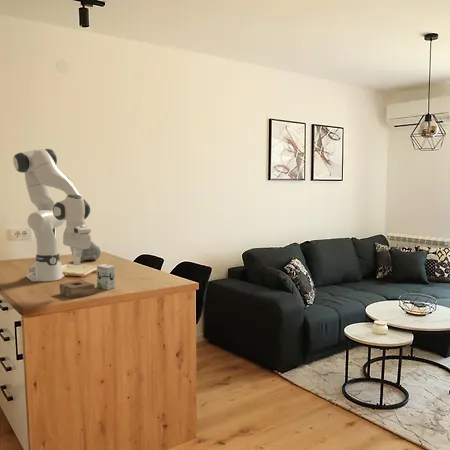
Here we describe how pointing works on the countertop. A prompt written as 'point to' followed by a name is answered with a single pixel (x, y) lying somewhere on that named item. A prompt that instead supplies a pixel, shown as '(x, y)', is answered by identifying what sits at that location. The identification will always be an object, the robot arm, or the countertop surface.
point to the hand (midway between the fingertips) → (76, 256)
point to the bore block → (77, 289)
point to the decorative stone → (91, 253)
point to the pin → (76, 256)
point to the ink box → (105, 276)
